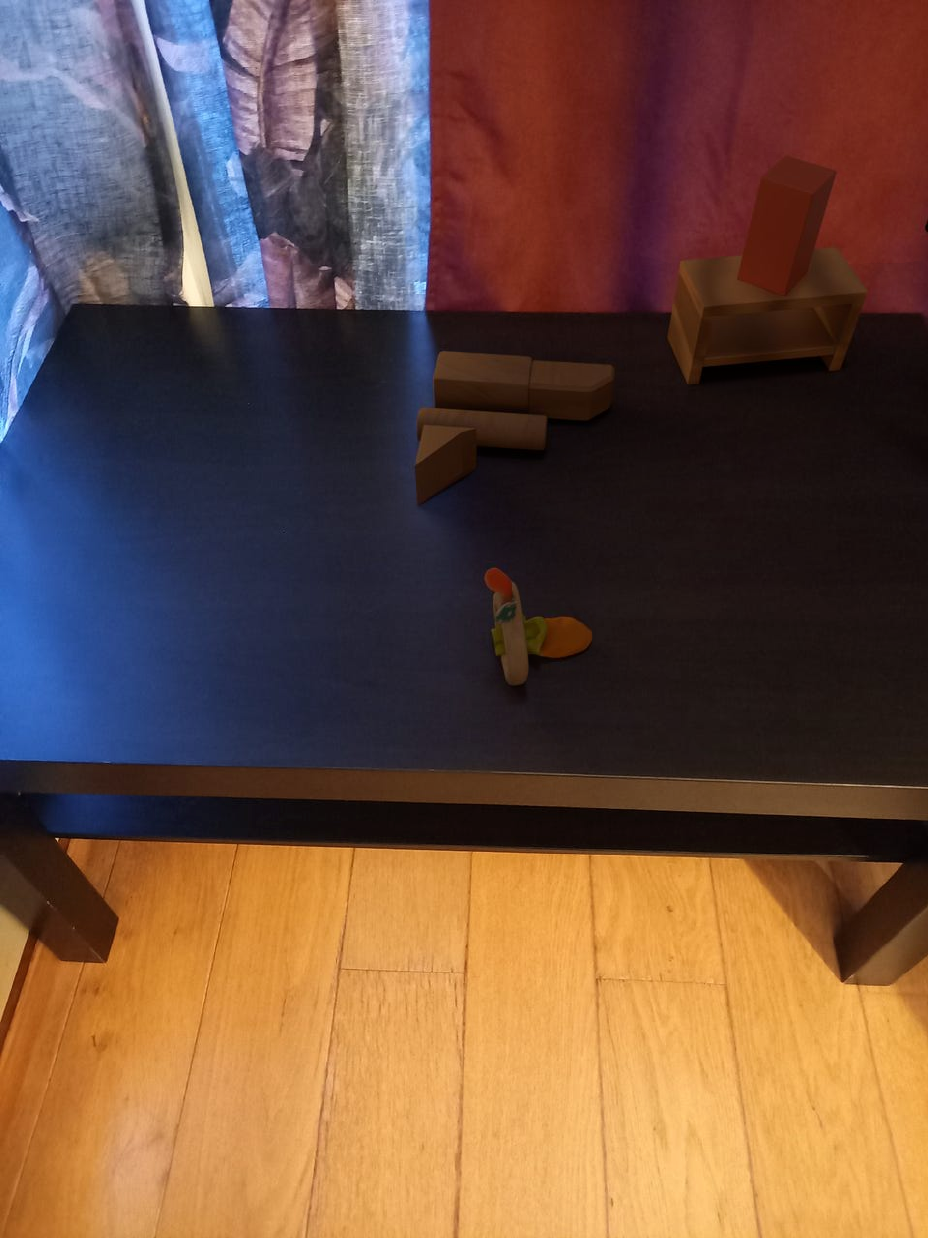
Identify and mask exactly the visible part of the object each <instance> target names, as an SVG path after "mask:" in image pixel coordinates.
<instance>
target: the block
mask: <svg viewBox="0 0 928 1238" xmlns="http://www.w3.org/2000/svg"><path fill="white" fill-rule="evenodd" d="M837 173H838V171H837V170H836V169H832V168H830V167H825V166H823V165H819V164H816V163H812V162H809V161H806V160H802V159H799V158H796V157H793V156H789V155H784V156H783V157H782V158H781V159H779V160H778V161H777V162H776V163H775V164H774V165H773V166H772V167H770V168H769V169H768V170H767V171H766V172H765V173H764V174H762V175H761V176H760V178H759V182H758V186H757V191H756V195H755V200H754V202H753V203H754V204H753V208H752V212H751V216H750V220H749V221H750V222H749V225H748V229H747V234H746V238H745V243H744V247H743V251H742V254H741V255H742V259H741V263H740V267H739V272H738V276H737V279H738V280H741V281H744V282H746V283H749V284H752V285H755V286H757V287H760V288H763V289H766V290H768V291H771V292H774V293H776V294H779V295H782V296H785V295H786V294H787V293H788V292H789V291H790V290H791V289H792V288H793V287H794V286H795V285H796V283H797V282H798V281H799V280H800V279H801V278H802V277H803V276H804V275H805V274H806V273H807V271H808V268H809V264H810V261H811V257H812V254H813V251H814V249H815V247H816V244H817V240H818V237H819V234H820V230H821V227H822V224H823V220H824V218H825V217H824V216H825V213H826V210H827V206H828V203H829V199H830V197H831V193H832V190H833V186H834V183H835V180H836V176H837Z"/></svg>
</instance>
